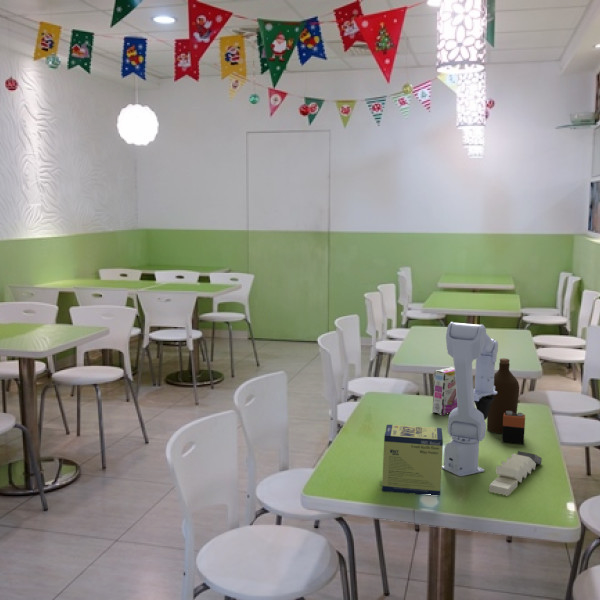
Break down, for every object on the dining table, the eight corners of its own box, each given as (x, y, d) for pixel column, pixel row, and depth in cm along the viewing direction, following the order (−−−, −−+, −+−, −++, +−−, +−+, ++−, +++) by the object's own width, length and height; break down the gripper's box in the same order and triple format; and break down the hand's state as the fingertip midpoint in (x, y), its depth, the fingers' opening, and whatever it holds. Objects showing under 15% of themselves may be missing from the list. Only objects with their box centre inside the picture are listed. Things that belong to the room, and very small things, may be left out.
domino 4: (530, 474, 197) (523, 468, 191) (513, 470, 200) (505, 464, 194) (531, 467, 198) (525, 461, 192) (514, 463, 201) (507, 457, 195)
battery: (502, 438, 229) (503, 409, 228) (523, 441, 227) (525, 411, 226) (501, 442, 225) (503, 412, 224) (523, 445, 223) (525, 415, 222)
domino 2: (517, 487, 188) (507, 496, 181) (499, 482, 191) (489, 491, 184) (517, 479, 188) (508, 488, 181) (499, 475, 190) (489, 484, 184)
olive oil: (505, 436, 231) (509, 363, 228) (478, 429, 239) (482, 358, 236) (523, 431, 238) (527, 360, 235) (497, 423, 246) (500, 354, 243)
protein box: (441, 496, 180) (443, 439, 179) (381, 491, 183) (383, 435, 181) (440, 482, 191) (442, 427, 189) (383, 477, 193) (385, 423, 191)
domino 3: (525, 478, 194) (518, 472, 188) (508, 474, 197) (500, 468, 191) (527, 471, 195) (520, 465, 188) (509, 467, 197) (502, 461, 191)
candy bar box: (443, 416, 255) (444, 372, 253) (431, 413, 258) (433, 370, 256) (460, 410, 262) (462, 368, 260) (449, 408, 266) (451, 366, 264)
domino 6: (525, 454, 209) (517, 450, 202) (541, 458, 206) (535, 454, 199) (523, 461, 208) (516, 457, 202) (540, 464, 205) (534, 461, 199)
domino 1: (521, 483, 191) (513, 476, 184) (503, 478, 193) (495, 472, 187) (522, 475, 191) (515, 469, 185) (504, 471, 194) (497, 465, 188)
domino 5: (534, 470, 201) (528, 464, 194) (517, 466, 203) (510, 460, 197) (536, 463, 201) (529, 457, 195) (518, 459, 204) (512, 453, 198)
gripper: (488, 382, 206) (486, 426, 207) (505, 374, 217) (503, 415, 219) (466, 378, 210) (464, 422, 211) (483, 370, 221) (481, 411, 223)
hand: (482, 418), depth 215 cm, fingers closed
